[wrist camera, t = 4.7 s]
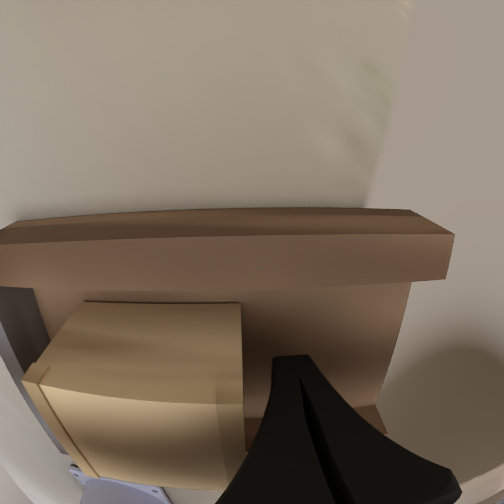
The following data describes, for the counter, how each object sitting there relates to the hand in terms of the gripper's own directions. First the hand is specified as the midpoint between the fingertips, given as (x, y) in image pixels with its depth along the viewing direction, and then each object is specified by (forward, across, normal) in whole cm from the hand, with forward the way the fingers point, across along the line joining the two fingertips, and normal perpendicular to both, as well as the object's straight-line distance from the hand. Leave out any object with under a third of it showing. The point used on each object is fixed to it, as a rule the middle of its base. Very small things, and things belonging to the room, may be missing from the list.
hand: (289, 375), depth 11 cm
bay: (+2, +3, 0) cm, 4 cm away
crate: (+1, +5, 0) cm, 5 cm away
